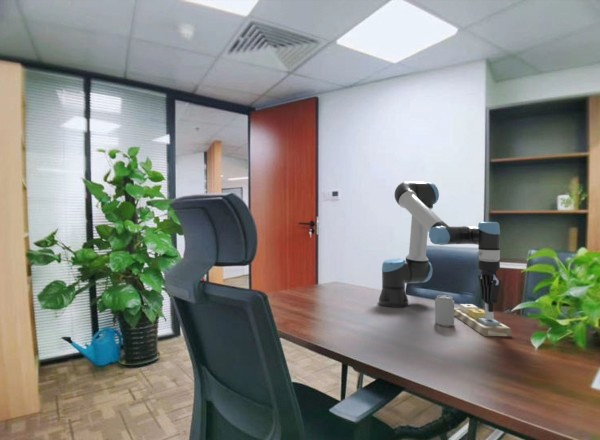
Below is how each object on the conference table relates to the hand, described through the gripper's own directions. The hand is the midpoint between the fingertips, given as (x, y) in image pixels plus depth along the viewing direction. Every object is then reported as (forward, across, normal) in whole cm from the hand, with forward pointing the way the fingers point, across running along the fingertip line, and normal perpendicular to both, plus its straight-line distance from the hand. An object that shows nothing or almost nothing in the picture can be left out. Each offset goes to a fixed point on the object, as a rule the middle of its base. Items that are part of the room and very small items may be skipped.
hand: (489, 319), depth 134 cm
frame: (+5, -9, 0) cm, 10 cm away
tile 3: (+4, 0, 0) cm, 4 cm away
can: (+5, -7, -15) cm, 17 cm away
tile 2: (+2, -9, 0) cm, 9 cm away
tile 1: (+2, -18, 0) cm, 18 cm away
